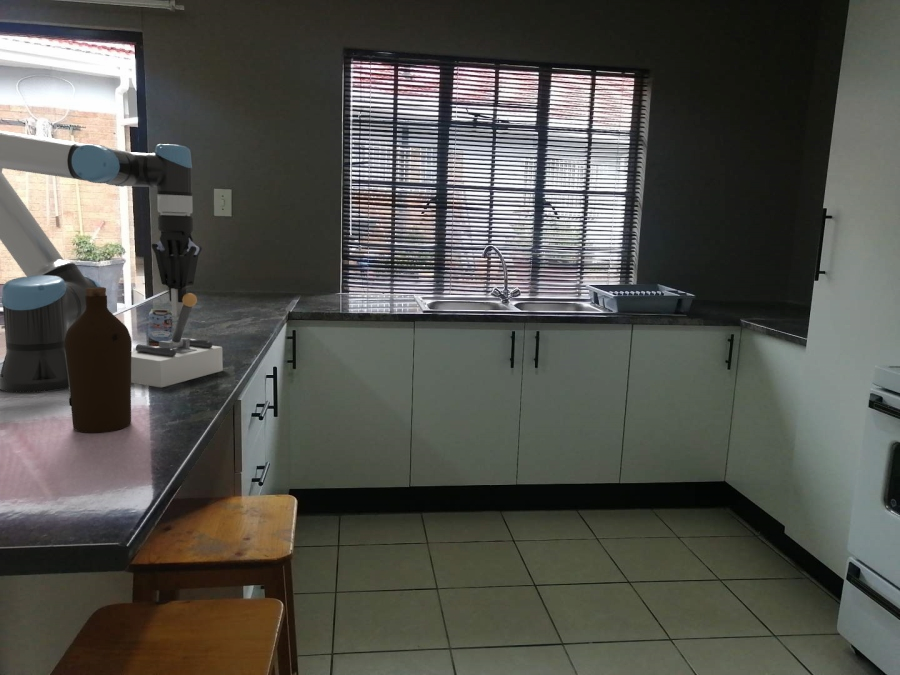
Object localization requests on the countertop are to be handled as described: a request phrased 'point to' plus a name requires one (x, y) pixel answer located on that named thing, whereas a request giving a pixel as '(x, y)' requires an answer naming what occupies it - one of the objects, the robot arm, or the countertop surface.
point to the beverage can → (159, 326)
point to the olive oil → (98, 367)
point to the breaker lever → (183, 319)
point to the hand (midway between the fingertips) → (178, 315)
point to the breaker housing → (174, 362)
